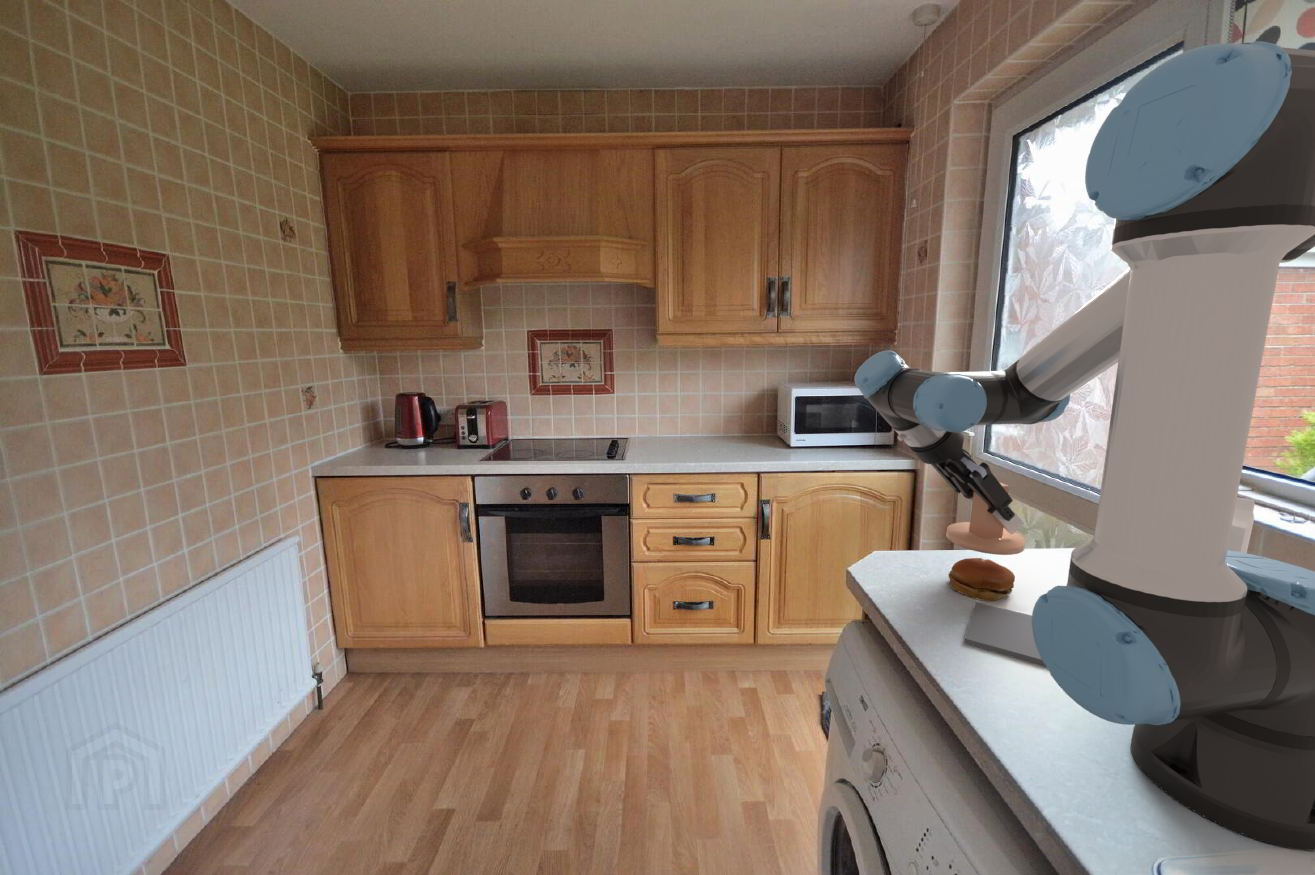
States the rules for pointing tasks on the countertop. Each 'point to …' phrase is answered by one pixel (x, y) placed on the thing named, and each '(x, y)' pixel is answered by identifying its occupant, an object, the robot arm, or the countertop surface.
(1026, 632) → the mat
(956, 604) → the countertop surface
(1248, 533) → the milk
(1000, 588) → the burger
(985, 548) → the lid
